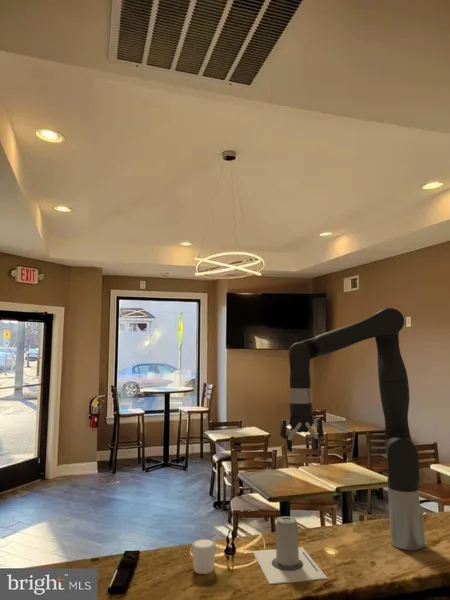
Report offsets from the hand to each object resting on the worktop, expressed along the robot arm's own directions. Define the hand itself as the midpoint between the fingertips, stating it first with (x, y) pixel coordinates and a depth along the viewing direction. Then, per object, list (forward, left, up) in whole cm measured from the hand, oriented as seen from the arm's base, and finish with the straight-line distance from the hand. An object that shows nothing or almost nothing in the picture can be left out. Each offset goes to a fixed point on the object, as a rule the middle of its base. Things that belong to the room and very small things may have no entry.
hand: (302, 450), depth 150 cm
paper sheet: (+11, +16, -28) cm, 34 cm away
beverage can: (+11, +16, -28) cm, 34 cm away
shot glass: (+35, +14, -28) cm, 47 cm away
